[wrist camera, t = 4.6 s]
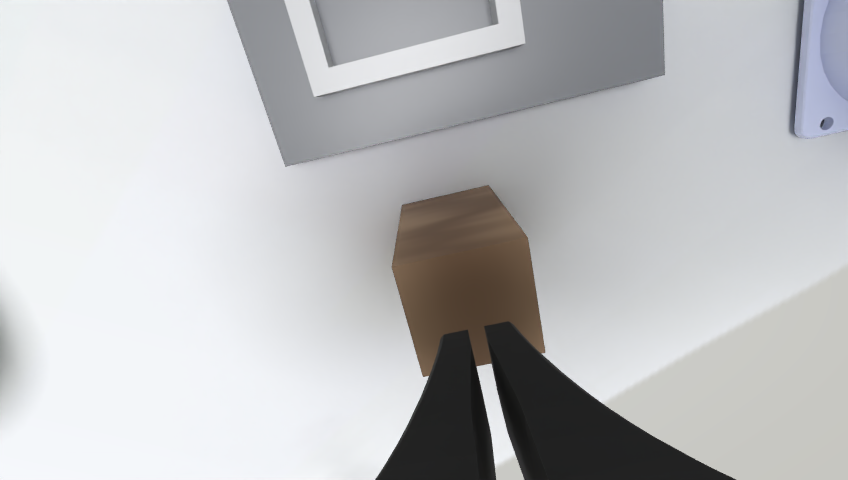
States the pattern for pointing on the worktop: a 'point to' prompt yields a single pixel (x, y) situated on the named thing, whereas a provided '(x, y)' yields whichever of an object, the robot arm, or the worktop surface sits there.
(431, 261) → the block
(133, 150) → the worktop surface
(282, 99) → the breaker panel
